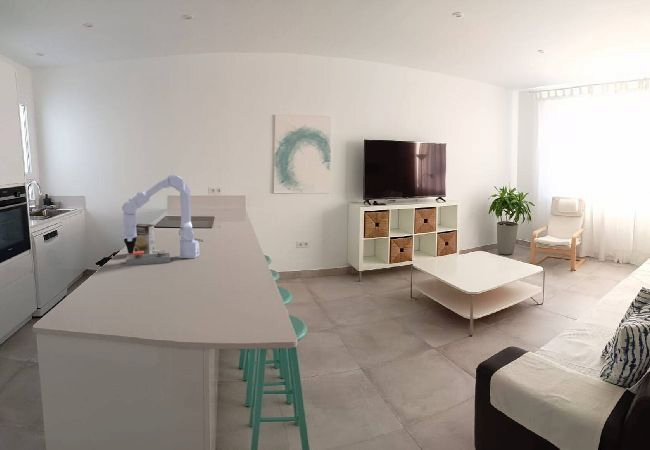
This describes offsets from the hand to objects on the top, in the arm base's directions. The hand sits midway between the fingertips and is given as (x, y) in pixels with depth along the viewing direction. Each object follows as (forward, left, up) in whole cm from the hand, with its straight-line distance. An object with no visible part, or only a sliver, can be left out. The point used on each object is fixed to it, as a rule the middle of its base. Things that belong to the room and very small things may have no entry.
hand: (130, 252), depth 201 cm
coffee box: (+2, -19, -5) cm, 19 cm away
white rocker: (-12, -6, 0) cm, 13 cm away
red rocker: (-3, -1, 0) cm, 3 cm away
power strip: (-8, -2, -5) cm, 10 cm away
